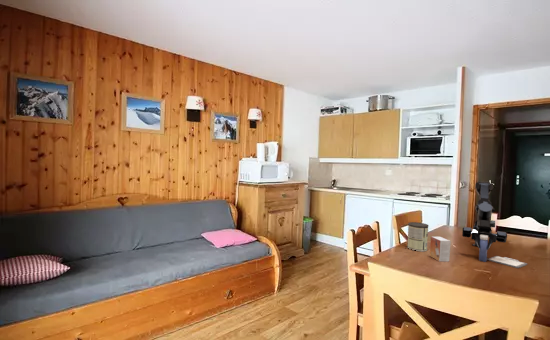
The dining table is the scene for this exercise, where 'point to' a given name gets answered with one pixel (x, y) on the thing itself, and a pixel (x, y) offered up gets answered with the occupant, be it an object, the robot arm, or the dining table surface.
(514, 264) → the clipboard
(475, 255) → the dining table surface
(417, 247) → the coffee can
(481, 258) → the marker
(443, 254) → the small box
